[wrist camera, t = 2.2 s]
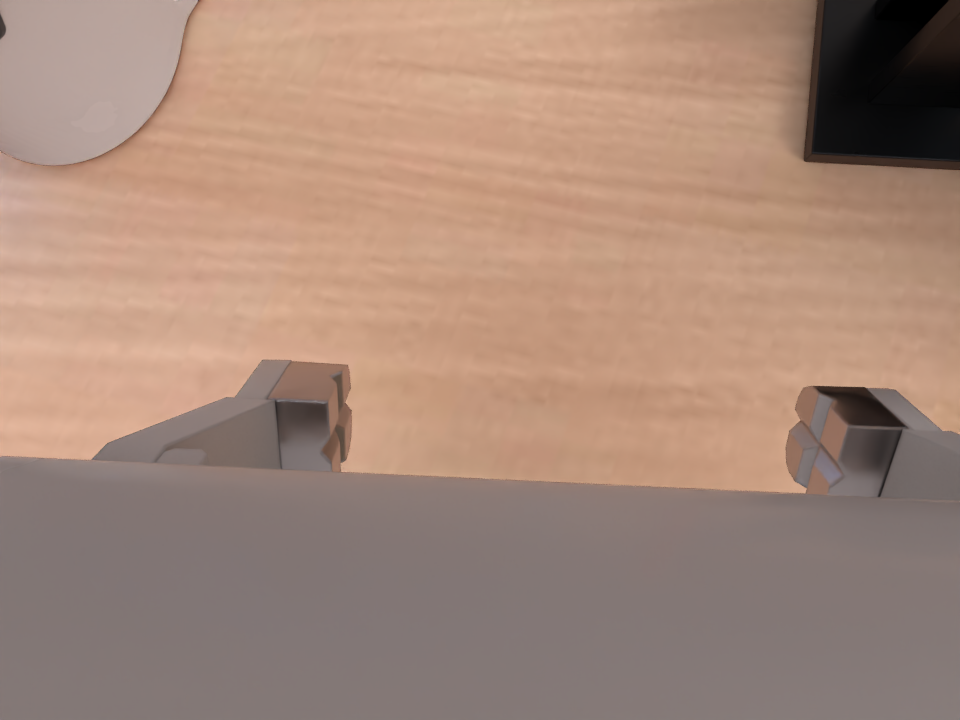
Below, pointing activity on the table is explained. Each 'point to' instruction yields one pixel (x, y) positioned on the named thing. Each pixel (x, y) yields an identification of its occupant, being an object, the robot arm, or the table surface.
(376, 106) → the table surface
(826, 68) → the switch bracket
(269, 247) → the table surface
